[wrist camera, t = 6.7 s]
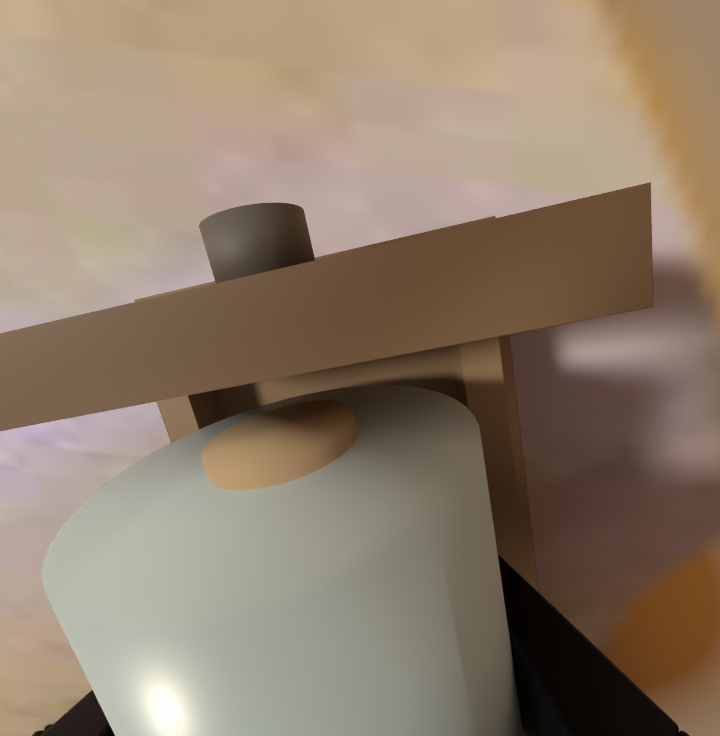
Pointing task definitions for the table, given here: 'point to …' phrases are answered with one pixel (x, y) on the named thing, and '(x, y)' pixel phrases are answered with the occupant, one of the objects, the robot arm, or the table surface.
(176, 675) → the roll
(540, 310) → the holder
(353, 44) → the table surface
